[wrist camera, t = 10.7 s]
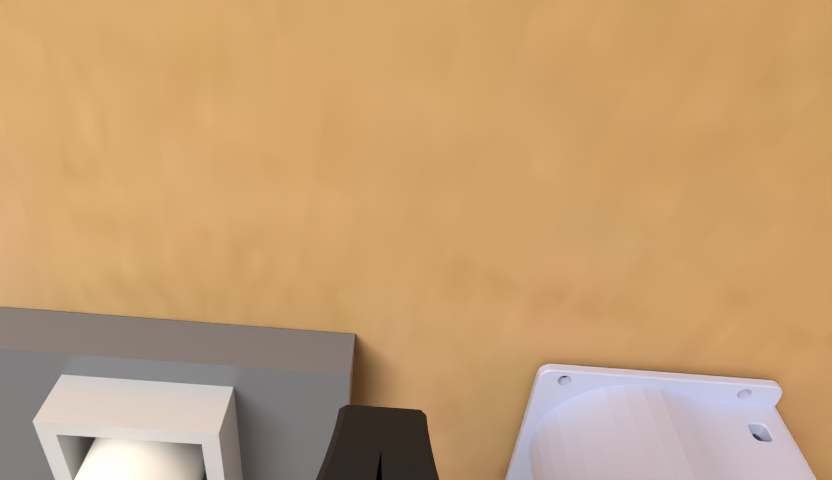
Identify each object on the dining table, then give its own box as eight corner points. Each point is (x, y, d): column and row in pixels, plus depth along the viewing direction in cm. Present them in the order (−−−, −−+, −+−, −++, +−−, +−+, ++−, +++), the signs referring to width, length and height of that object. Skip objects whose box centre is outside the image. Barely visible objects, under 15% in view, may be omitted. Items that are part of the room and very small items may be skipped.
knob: (207, 405, 23) (176, 494, 20) (217, 473, 25) (190, 561, 22) (93, 397, 22) (45, 485, 20) (113, 466, 25) (73, 554, 22)
